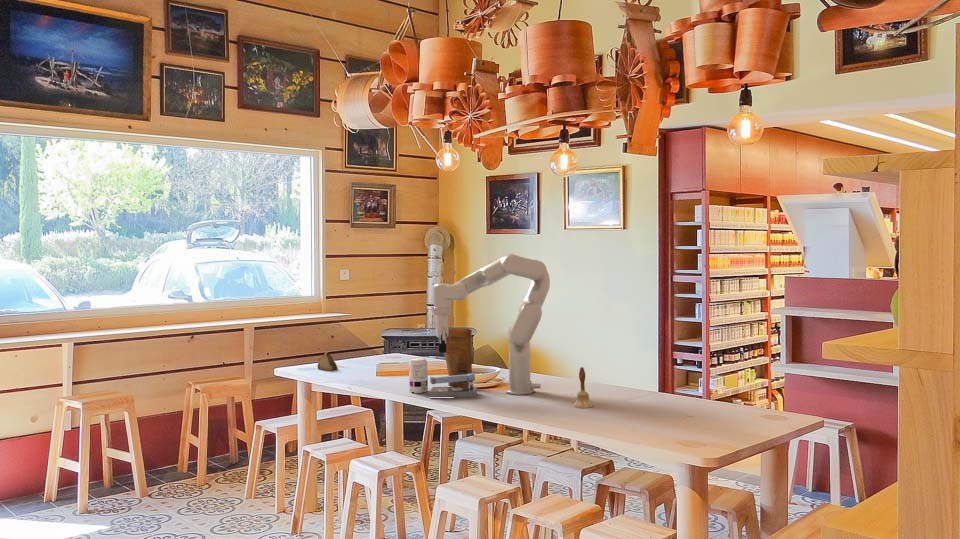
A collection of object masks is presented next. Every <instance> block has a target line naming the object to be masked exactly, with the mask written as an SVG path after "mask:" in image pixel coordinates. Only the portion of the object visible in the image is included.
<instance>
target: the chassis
mask: <svg viewBox="0 0 960 539" xmlns="http://www.w3.org/2000/svg"><path fill="white" fill-rule="evenodd" d="M428 391H429V392H428V393H429V394H428V397H454V398H475V397H477V396H478V386H474V381H469V387H453V386H432V387H431V389H430V390H428ZM475 399H476V398H475Z"/></svg>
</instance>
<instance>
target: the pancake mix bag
mask: <svg viewBox="0 0 960 539" xmlns="http://www.w3.org/2000/svg"><path fill="white" fill-rule="evenodd" d="M472 334H473V330H472V329H470V328H467V327H448V337H446V353H443V355H444V358H445V364H446V369H447V374H448V375H447V376H454V375H465V374H466V375H467V374H473V372H472V371H473V368H472V367H473V343H472V342H473V340H472V336H473V335H472ZM448 387H469V381H468V380H467V381H460V382H449V383H448Z"/></svg>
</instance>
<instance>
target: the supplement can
mask: <svg viewBox="0 0 960 539" xmlns="http://www.w3.org/2000/svg"><path fill="white" fill-rule="evenodd" d="M408 376H409V377H408V378H409V380H408V382H409V392H410V393H411V392H414V393H413V394H416V393H419V394H423V393H422V392H425V393H427V392H428V391H429V387H428V386H429V383H428V381H429V378H428V360H427V358H425V357H413V358H410V360H409V362H408ZM426 391H427V392H426Z"/></svg>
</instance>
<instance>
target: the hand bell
mask: <svg viewBox="0 0 960 539" xmlns="http://www.w3.org/2000/svg"><path fill="white" fill-rule="evenodd" d="M578 378H579V383H580V391H579V392H577V396H576V399H575V400H576V401H575V402H574V403H573V404H572V407H573V408H576V409H590V408H593V407H594V403H592V401H591V400H590V395H589V392H587V391H586V389H585V381H586V371H585V368H584V367H582V366H581V367H580V369H579V372H578Z"/></svg>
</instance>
